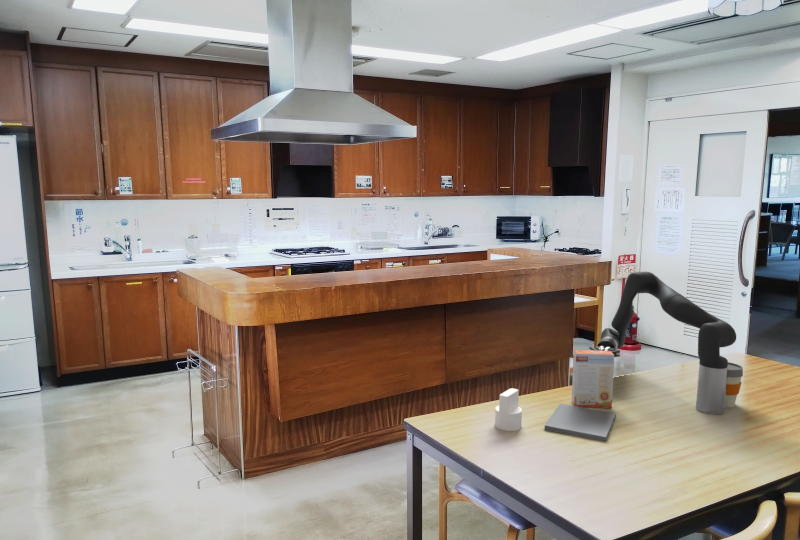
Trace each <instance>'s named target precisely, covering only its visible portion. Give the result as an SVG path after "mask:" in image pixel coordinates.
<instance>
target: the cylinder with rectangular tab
mask: <svg viewBox="0 0 800 540" xmlns="http://www.w3.org/2000/svg"><path fill="white" fill-rule="evenodd" d="M519 395H520V394H519V389H518V388H513V387H512V388H508V389H507V390H505V391H503V392H502V393H500V394H499V396H498V397H499V400H498V403H499V404H498V405H497V406H495V408H494V409H495V414H494V415H495V416H494V426H495V428H497V429H499V430H501V431H506V432H507V431H508V432H514V431H515V432H516V431H519V430H520V429H521V428H522V421H523V420H522V419H523V409H522V408H521V407H519Z"/></svg>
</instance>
